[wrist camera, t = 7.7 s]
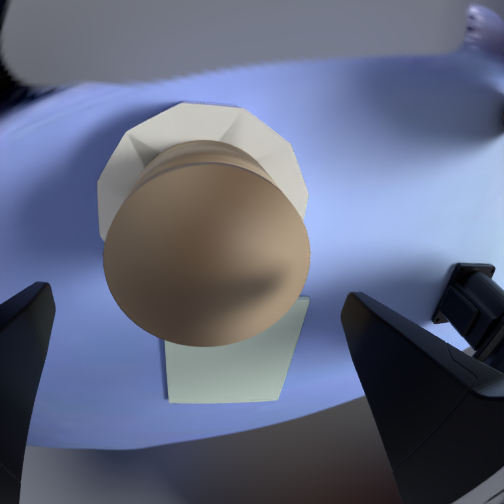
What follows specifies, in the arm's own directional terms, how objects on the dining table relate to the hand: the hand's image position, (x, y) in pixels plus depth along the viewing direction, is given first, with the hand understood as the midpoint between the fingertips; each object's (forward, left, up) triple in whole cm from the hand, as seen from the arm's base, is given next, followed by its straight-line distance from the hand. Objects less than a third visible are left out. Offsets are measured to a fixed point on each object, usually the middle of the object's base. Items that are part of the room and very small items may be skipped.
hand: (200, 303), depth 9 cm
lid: (0, 0, -7) cm, 7 cm away
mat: (-3, +13, -10) cm, 17 cm away
